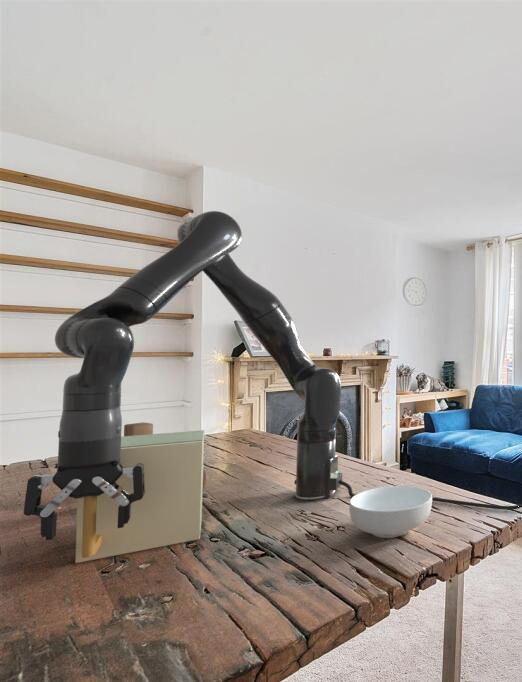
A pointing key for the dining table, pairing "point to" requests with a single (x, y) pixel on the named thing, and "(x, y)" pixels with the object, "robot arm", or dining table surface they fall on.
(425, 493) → the cereal bowl
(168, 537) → the cupboard door
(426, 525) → the dining table surface
